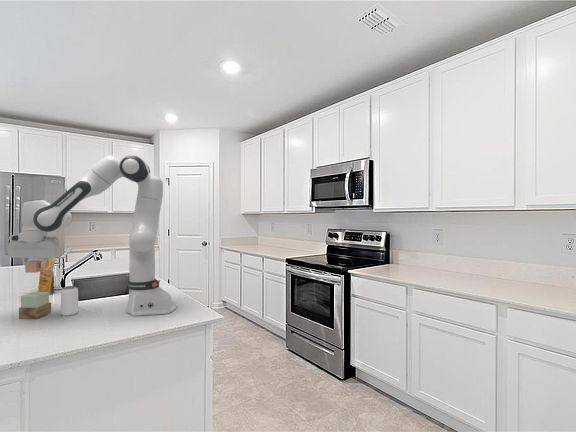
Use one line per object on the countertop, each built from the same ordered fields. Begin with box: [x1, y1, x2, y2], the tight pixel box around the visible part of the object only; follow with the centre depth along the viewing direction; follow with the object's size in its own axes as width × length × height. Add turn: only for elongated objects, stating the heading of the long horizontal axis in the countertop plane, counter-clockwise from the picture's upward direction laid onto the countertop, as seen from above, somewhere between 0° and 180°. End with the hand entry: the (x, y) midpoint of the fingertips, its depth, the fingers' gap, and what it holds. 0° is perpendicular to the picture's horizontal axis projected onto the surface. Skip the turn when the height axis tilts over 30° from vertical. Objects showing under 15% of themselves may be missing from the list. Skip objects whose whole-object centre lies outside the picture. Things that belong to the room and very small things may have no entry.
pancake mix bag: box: [37, 258, 57, 296], centre depth 183 cm, size 7×19×28 cm, turn 52°
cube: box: [24, 260, 44, 274], centre depth 144 cm, size 4×4×4 cm
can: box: [60, 285, 79, 317], centre depth 148 cm, size 6×6×12 cm
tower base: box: [18, 302, 52, 320], centre depth 145 cm, size 8×8×5 cm
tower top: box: [20, 291, 50, 308], centre depth 144 cm, size 7×7×5 cm
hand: (34, 267), depth 144 cm, fingers closed on cube, 4 cm apart
